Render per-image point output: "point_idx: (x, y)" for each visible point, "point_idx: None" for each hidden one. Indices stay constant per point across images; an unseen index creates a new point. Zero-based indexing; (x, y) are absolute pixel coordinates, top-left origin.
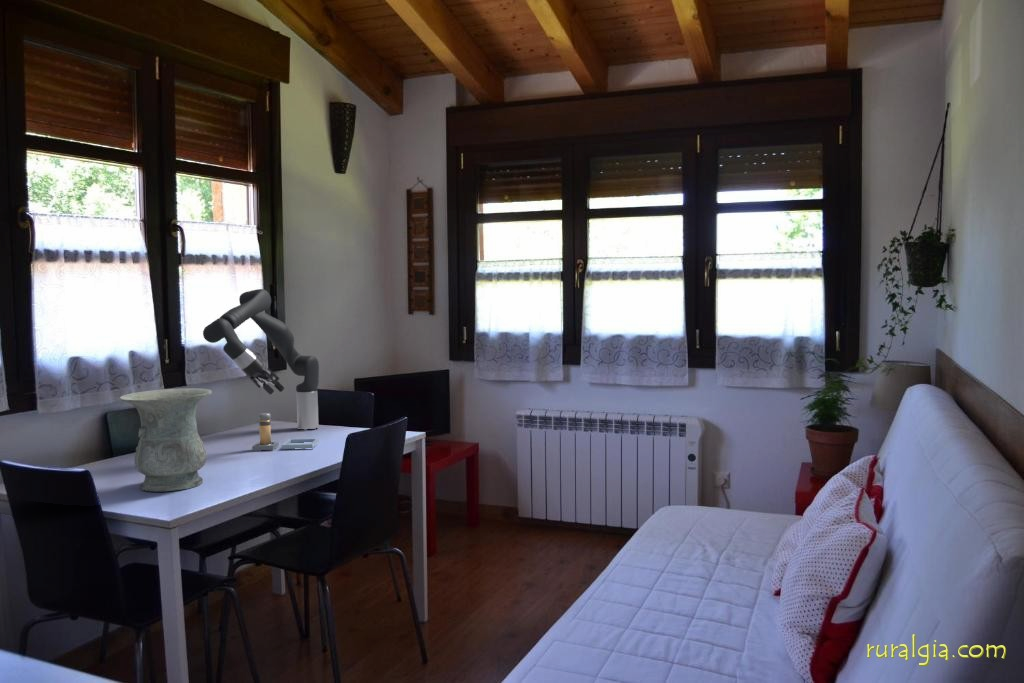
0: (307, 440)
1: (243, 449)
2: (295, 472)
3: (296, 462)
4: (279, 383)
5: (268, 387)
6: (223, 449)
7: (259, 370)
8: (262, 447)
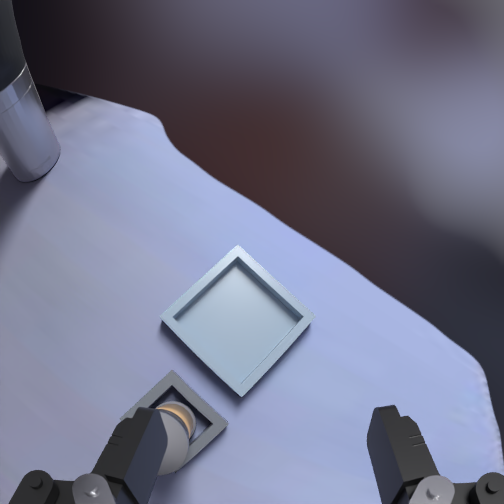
0: (216, 277)
1: None
2: (485, 455)
3: (424, 430)
4: (430, 462)
5: (140, 469)
6: None
7: None
8: (201, 449)
